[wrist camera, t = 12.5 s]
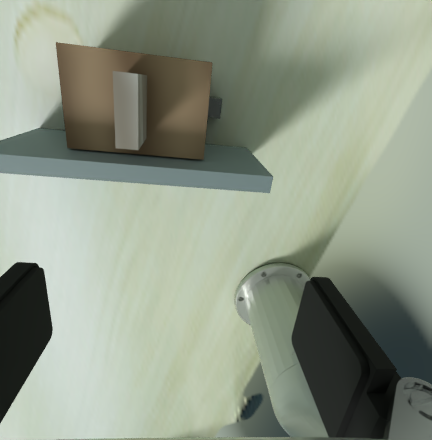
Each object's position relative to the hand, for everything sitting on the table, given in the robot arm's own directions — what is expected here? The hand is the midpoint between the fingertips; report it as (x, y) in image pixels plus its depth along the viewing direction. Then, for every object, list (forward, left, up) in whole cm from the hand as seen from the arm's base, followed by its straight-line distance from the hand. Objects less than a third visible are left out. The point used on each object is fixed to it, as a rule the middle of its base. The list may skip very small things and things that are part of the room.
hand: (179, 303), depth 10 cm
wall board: (+4, 0, -27) cm, 28 cm away
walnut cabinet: (+4, -5, -28) cm, 28 cm away
